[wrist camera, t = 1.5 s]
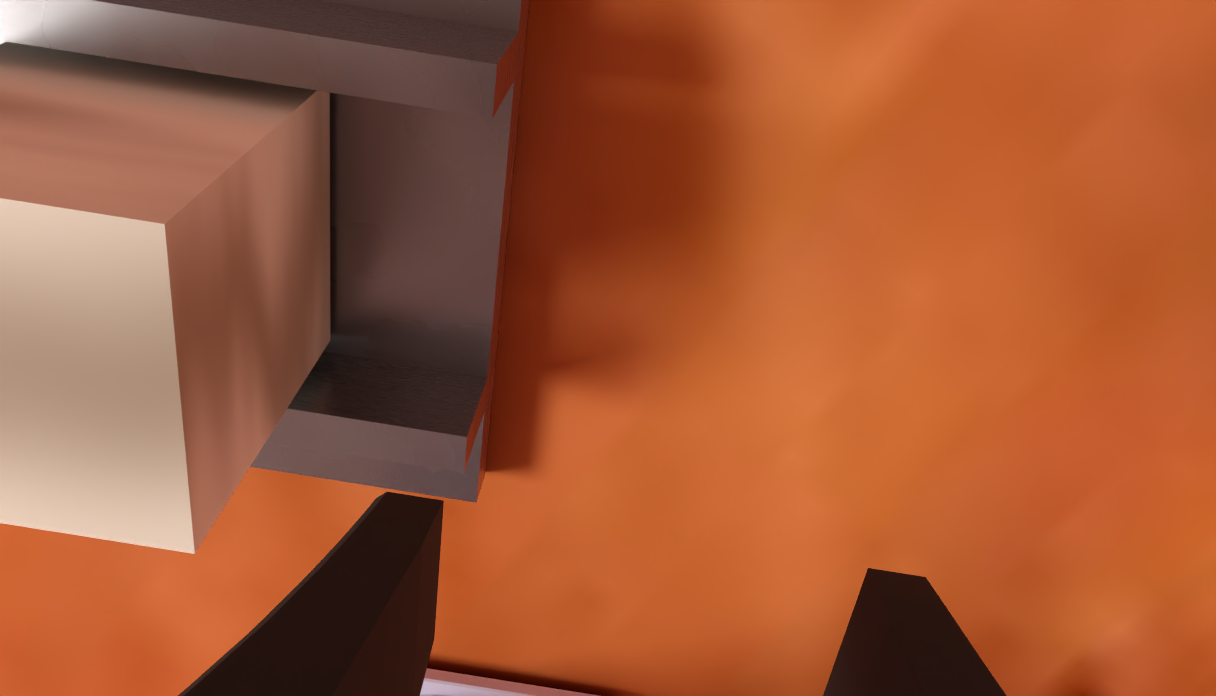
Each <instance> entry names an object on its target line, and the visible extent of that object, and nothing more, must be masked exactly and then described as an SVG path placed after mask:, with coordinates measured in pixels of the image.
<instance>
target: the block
mask: <svg viewBox="0 0 1216 696" xmlns="http://www.w3.org/2000/svg"><path fill="white" fill-rule="evenodd" d="M329 342H330V92H323V91H317V90H311V89H304V88H298V87H292V86H285V85H279V84H273V83H266V82H260V81H254V80H247V79H241V78H235V77H228V76H222V75H216V74H209V73H203V72H197V71H190V70H184V69H178V68H171V67H165V66H159V65H152V64H146V63H140V62H134V61H127V60H121V59H115V58H108V57H102V56H96V55H89V54H83V53H77V52H70V51H64V50H58V49H51V48H45V47H39V46H32V45H26V44H20V43H13V42H4V43H2V44H0V523H4V524H10V525H16V526H23V527H29V528H35V529H41V530H48V531H54V532H60V533H67V534H73V535H79V536H86V537H92V538H98V539H104V540H111V541H117V542H123V543H130V544H136V545H142V546H149V547H155V548H161V549H167V550H174V551H180V552H186V553H193V554H195V553H196V551H197V549H198V548H199V546H200V545H201V543H202V542H203V540H204V538H205V537H206V535H207V534H208V532H209V531H210V529H211V527H212V526H213V524H214V523H215V521H216V520H217V518H218V516H219V515H220V513H221V512H222V510H223V508H224V507H225V505H226V504H227V502H228V501H229V499H230V497H231V496H232V494H233V493H234V491H235V490H236V488H237V486H238V485H239V483H240V482H241V480H242V479H243V477H244V475H245V474H246V472H247V471H248V469H249V468H250V466H251V464H252V463H253V461H254V460H255V458H256V457H257V455H258V453H259V452H260V450H261V449H262V447H263V446H264V444H265V442H266V441H267V439H268V438H269V436H270V434H271V433H272V431H273V430H274V428H275V427H276V425H277V423H278V422H279V420H280V419H281V417H282V416H283V414H284V412H285V411H286V409H287V408H288V406H289V405H290V403H291V401H292V400H293V398H294V397H295V395H296V394H297V392H298V390H299V389H300V387H301V386H302V384H303V383H304V381H305V379H306V378H307V376H308V375H309V373H310V372H311V370H312V368H313V367H314V365H315V364H316V362H317V361H318V359H319V357H320V356H321V354H322V353H323V351H324V349H325V348H326V346H327V345H328V343H329Z"/></svg>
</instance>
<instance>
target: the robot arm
mask: <svg viewBox="0 0 1216 696" xmlns="http://www.w3.org/2000/svg"><path fill="white" fill-rule="evenodd" d="M443 502H444V501H442V500H436V499H429V498H423V497H417V496H410V495H404V494H398V493H392V492H386V493H384V494H383V495H381V496H379V497H378V498H376V499H375V500H374V502H373V503H372V504H371V505H370V507H369V508H368V509H367V510H366V511H365V513H364V514H363V515H362V516H361V517H360V518H359V520H358V521H357V522H356V523H355V524H354V525H353V526H352V528H351V529H350V530H349V531H348V532H347V533H346V534H345V536H344V537H343V538H342V539H341V540H340V541H339V542H338V543H337V544H336V545H335V547H334V548H333V549H332V550H331V551H330V552H329V553H328V554H327V555H326V556H325V557H324V558H323V559H322V560H321V562H320V563H319V564H318V565H317V566H316V567H315V568H314V569H313V570H312V571H311V572H310V573H309V574H308V575H307V576H306V577H305V578H304V579H303V580H302V581H301V582H300V583H299V584H298V585H297V586H296V587H295V588H294V589H293V590H292V591H291V592H290V593H289V594H288V595H287V596H286V597H285V598H284V599H283V600H282V601H281V602H280V603H279V604H278V605H277V606H276V607H275V608H274V609H273V610H272V611H271V612H270V613H269V614H268V615H267V616H266V617H265V618H264V619H263V620H262V621H261V622H260V623H259V624H258V625H257V626H256V627H255V628H254V629H253V630H251V631H250V632H249V633H248V634H247V635H246V636H245V637H244V638H243V639H242V640H241V641H239V642H238V643H237V644H236V645H235V646H234V647H233V648H232V649H230V650H229V651H228V652H227V653H226V654H225V655H224V656H223V657H221V658H220V659H219V660H218V661H217V662H216V663H215V664H214V665H212V666H211V667H210V668H209V669H208V670H207V671H206V672H205V673H203V674H202V675H201V676H200V677H199V678H198V679H197V680H196V681H194V682H193V683H192V684H191V685H190V686H189V687H188V688H186V689H185V690H184V691H183V692H182V693H180V694H179V695H178V696H599V695H593V694H586V693H580V692H574V691H567V690H561V689H555V688H548V687H542V686H536V685H530V684H523V683H517V682H511V681H504V680H498V679H492V678H486V677H479V676H473V675H467V674H460V673H454V672H448V671H441V670H435V669H429V668H427V665H428V661H429V657H430V653H431V649H432V645H433V641H434V633H435V618H436V604H437V589H438V575H439V560H440V546H441V531H442V517H443ZM823 696H1006V694H1005V693H1004V691H1003V690H1002V689H1001V687H1000V686H999V684H998V683H997V681H996V680H995V678H994V677H993V676H992V674H991V673H990V671H989V670H988V668H987V667H986V665H985V664H984V662H983V661H982V659H981V658H980V657H979V655H978V654H977V652H976V651H975V649H974V648H973V646H972V645H971V643H970V642H969V640H968V639H967V637H966V636H965V634H964V633H963V632H962V630H961V629H960V627H959V626H958V624H957V623H956V621H955V620H954V618H953V617H952V615H951V614H950V612H949V611H948V609H947V608H946V606H945V605H944V603H943V602H942V601H941V599H940V598H939V596H938V595H937V593H936V592H935V590H934V589H933V587H932V586H931V585H930V583H929V582H928V580H927V579H926V577H921V576H915V575H908V574H902V573H896V572H889V571H883V570H877V569H871V568H868V570H867V573H866V576H865V579H864V581H863V584H862V587H861V590H860V593H859V596H858V598H857V601H856V604H855V607H854V610H853V613H852V616H851V618H850V621H849V624H848V627H847V630H846V633H845V635H844V638H843V641H842V644H841V647H840V650H839V652H838V655H837V658H836V661H835V664H834V667H833V669H832V672H831V675H830V678H829V681H828V684H827V686H826V689H825V692H824V695H823Z"/></svg>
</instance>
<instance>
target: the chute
mask: <svg viewBox="0 0 1216 696" xmlns="http://www.w3.org/2000/svg"><path fill="white" fill-rule="evenodd" d="M528 11H529V0H0V44H2V43H4V42H13V43H20V44H26V45H32V46H39V47H45V48H51V49H58V50H64V51H70V52H77V53H83V54H89V55H96V56H102V57H108V58H115V59H121V60H127V61H134V62H140V63H146V64H152V65H159V66H165V67H171V68H178V69H184V70H190V71H197V72H203V73H209V74H216V75H222V76H228V77H235V78H241V79H247V80H254V81H260V82H266V83H273V84H279V85H285V86H292V87H298V88H304V89H311V90H317V91H323V92H330V342H329V343H328V345H327V346H326V348H325V349H324V351H323V353H322V354H321V356H320V357H319V359H318V361H317V362H316V364H315V365H314V367H313V368H312V370H311V372H310V373H309V375H308V376H307V378H306V379H305V381H304V383H303V384H302V386H301V387H300V389H299V390H298V392H297V394H296V395H295V397H294V398H293V400H292V401H291V403H290V405H289V406H288V408H287V409H286V411H285V412H284V414H283V416H282V417H281V419H280V420H279V422H278V423H277V425H276V427H275V428H274V430H273V431H272V433H271V434H270V436H269V438H268V439H267V441H266V442H265V444H264V446H263V447H262V449H261V450H260V452H259V453H258V455H257V457H256V458H255V460H254V461H253V463H252V464H251V466H250V467H256V468H262V469H269V470H275V471H281V472H287V473H294V474H300V475H306V476H313V477H319V478H325V479H332V480H338V481H344V482H350V483H357V484H363V485H369V486H376V487H382V488H388V489H395V490H401V491H407V492H414V493H420V494H426V495H432V496H439V497H445V498H451V499H458V500H464V501H470V502H477V499H478V495H479V492H480V489H481V486H482V482H483V479H484V476H485V470H486V459H487V449H488V438H489V427H490V417H491V406H492V395H493V385H494V374H495V363H496V352H497V342H498V331H499V320H500V310H501V299H502V288H503V278H504V267H505V256H506V246H507V235H508V224H509V214H510V203H511V192H512V182H513V171H514V160H515V149H516V139H517V128H518V117H519V107H520V96H521V85H522V75H523V64H524V53H525V43H526V32H527V21H528Z"/></svg>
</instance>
